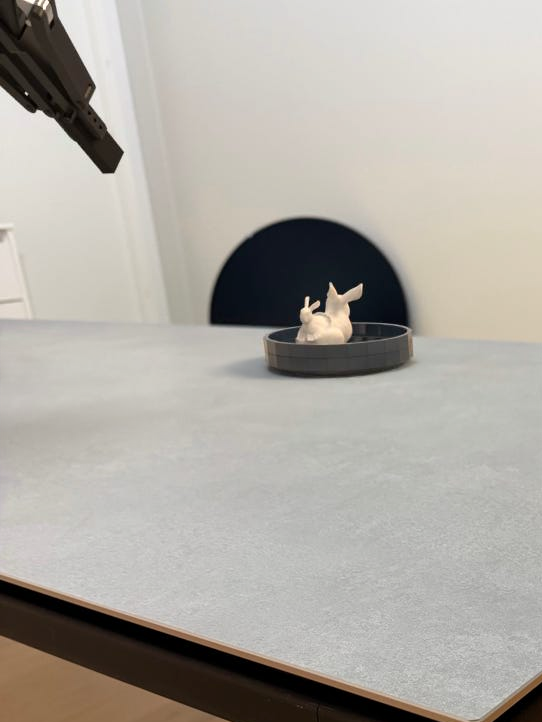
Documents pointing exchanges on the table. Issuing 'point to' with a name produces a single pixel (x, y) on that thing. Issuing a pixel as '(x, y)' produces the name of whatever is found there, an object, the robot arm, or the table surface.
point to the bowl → (341, 351)
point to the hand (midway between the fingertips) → (113, 162)
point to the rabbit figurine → (328, 319)
